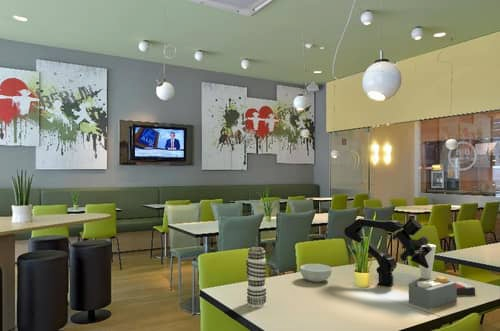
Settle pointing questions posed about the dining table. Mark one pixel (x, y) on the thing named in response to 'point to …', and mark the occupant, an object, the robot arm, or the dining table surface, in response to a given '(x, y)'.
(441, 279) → the orange button
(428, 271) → the cup
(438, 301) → the button console
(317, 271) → the cereal bowl
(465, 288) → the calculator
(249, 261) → the decorative candle
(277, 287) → the dining table surface
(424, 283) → the grey button
